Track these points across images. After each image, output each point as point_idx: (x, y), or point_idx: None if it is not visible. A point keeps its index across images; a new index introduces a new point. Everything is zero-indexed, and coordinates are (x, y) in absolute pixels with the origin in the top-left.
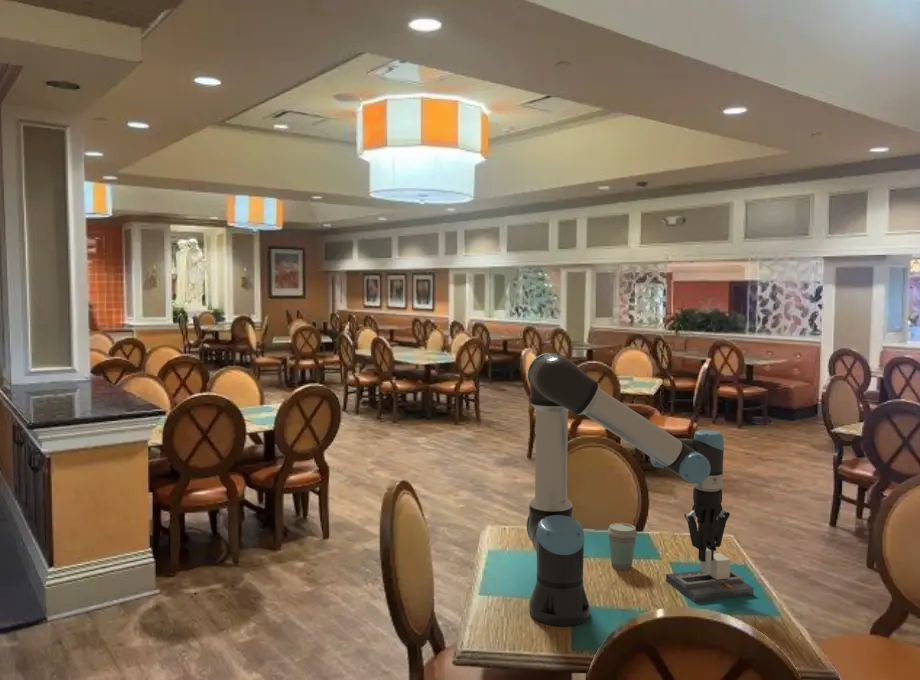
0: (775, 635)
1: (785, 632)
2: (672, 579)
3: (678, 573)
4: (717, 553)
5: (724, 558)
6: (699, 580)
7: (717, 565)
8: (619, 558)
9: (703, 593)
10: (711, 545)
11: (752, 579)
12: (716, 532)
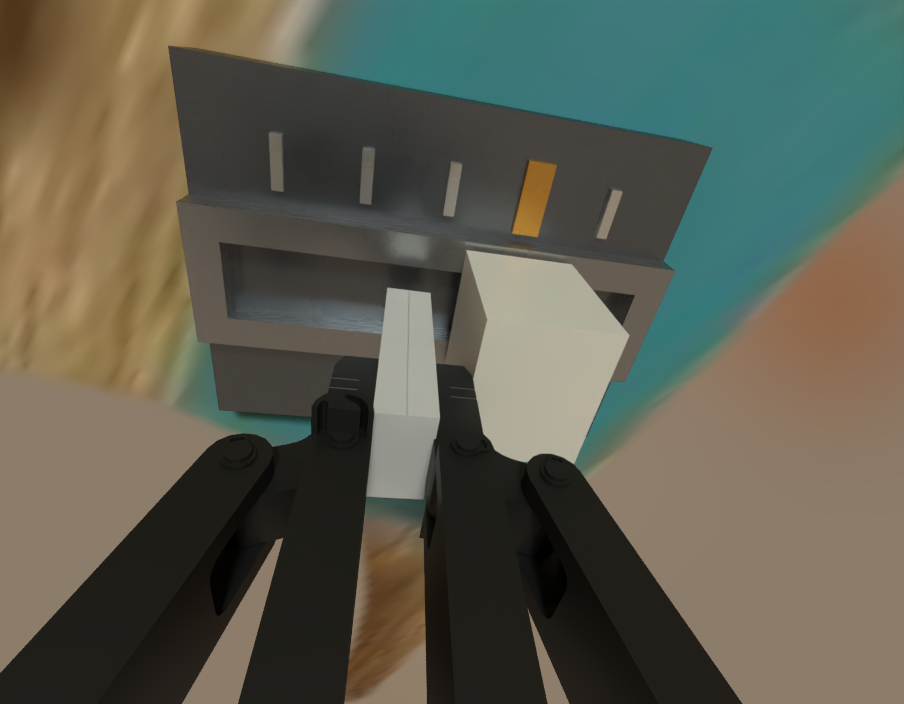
0: (372, 610)
1: (417, 605)
2: (187, 159)
3: (297, 81)
4: (606, 337)
5: (553, 437)
6: (377, 267)
7: None
8: None
9: (280, 412)
10: (426, 546)
11: (764, 274)
12: (594, 661)
